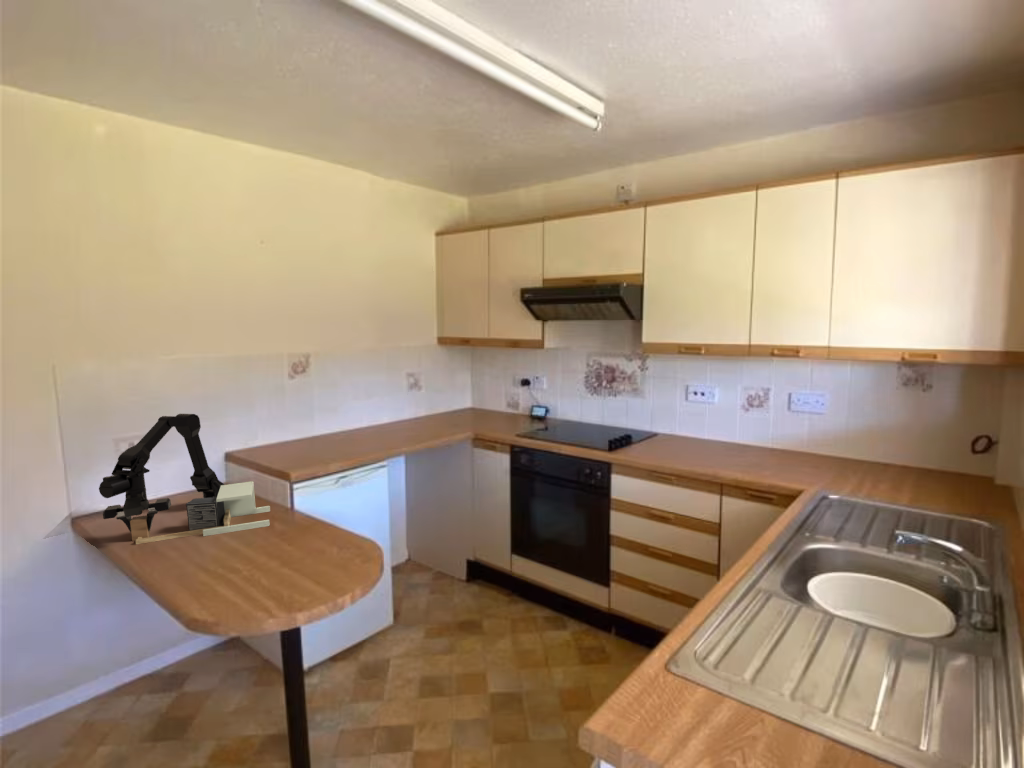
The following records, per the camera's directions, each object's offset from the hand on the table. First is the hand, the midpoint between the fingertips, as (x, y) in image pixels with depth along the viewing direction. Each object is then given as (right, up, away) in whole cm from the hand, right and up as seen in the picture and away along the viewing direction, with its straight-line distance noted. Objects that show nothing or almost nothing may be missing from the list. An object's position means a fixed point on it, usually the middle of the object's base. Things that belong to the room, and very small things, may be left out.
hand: (140, 531), depth 189 cm
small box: (+19, -1, +8) cm, 20 cm away
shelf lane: (+28, 0, +12) cm, 30 cm away
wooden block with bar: (+12, -1, +5) cm, 13 cm away
